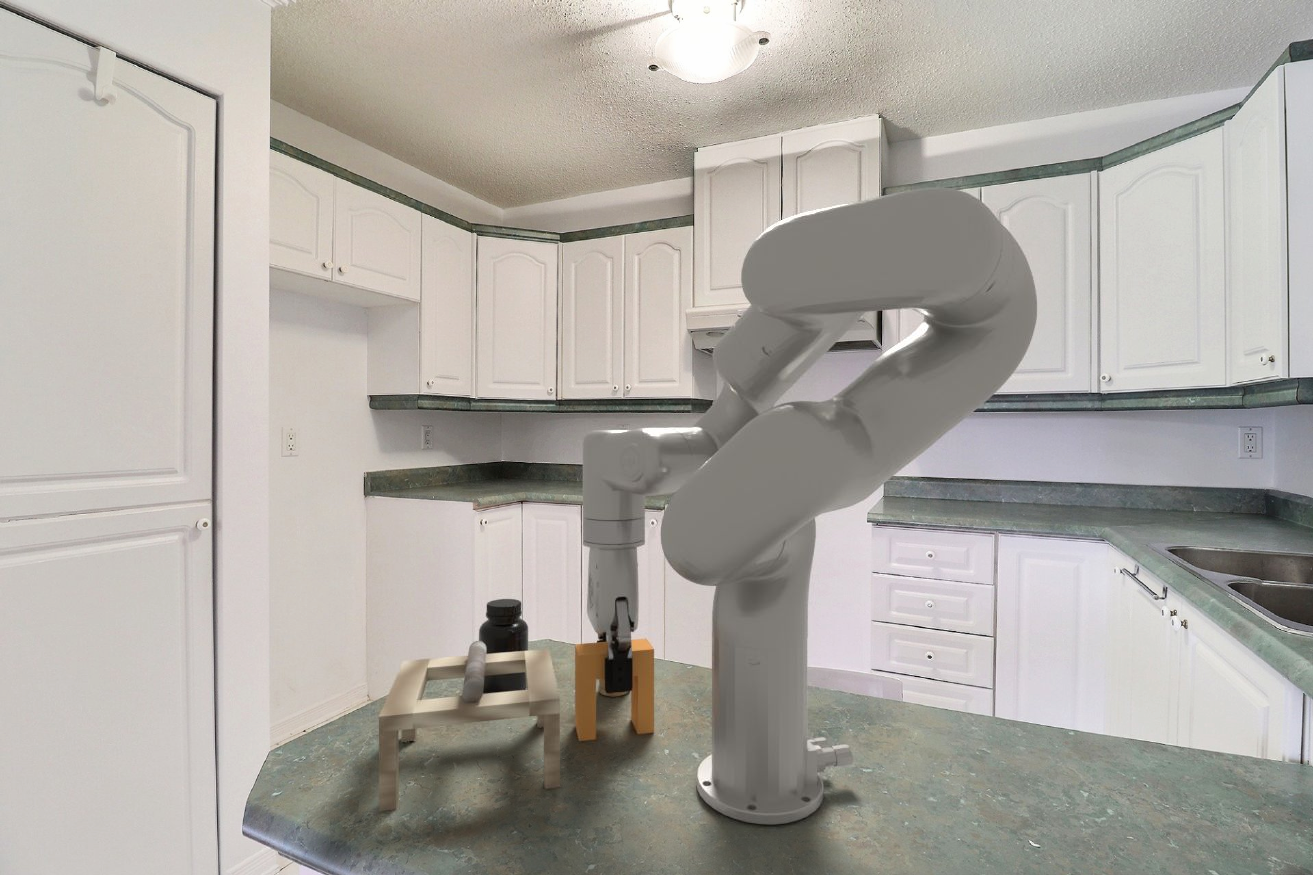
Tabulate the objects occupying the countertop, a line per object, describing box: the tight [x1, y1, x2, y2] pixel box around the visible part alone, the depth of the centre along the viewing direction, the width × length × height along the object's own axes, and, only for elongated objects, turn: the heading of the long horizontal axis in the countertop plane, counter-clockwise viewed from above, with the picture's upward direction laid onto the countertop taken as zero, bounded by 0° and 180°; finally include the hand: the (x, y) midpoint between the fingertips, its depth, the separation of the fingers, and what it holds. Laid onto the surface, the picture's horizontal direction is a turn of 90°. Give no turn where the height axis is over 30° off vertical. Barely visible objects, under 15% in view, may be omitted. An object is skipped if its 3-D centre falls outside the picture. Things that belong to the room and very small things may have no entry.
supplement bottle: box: [478, 598, 529, 694], centre depth 88 cm, size 7×7×12 cm
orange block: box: [574, 638, 655, 742], centre depth 76 cm, size 9×4×10 cm, turn 104°
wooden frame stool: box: [378, 640, 561, 812], centre depth 69 cm, size 17×15×11 cm
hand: (614, 679), depth 76 cm, fingers open, 5 cm apart
